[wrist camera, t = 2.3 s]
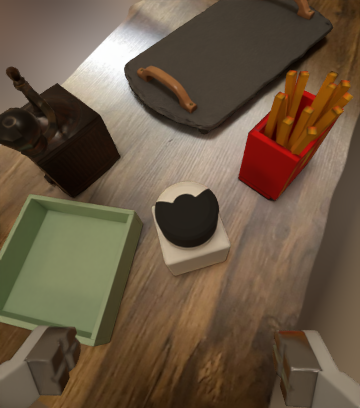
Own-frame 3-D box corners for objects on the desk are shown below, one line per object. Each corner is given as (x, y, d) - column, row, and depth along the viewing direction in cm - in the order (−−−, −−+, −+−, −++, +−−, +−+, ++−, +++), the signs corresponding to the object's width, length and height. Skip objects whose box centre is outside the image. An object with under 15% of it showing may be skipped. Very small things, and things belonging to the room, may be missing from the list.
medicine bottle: (226, 260, 32) (237, 230, 21) (173, 276, 32) (156, 254, 21) (209, 212, 35) (210, 163, 24) (160, 226, 35) (140, 184, 24)
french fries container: (313, 163, 37) (369, 81, 24) (276, 206, 34) (318, 140, 22) (272, 139, 39) (304, 54, 27) (236, 177, 37) (252, 104, 24)
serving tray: (246, -5, 57) (250, -40, 51) (339, 33, 48) (357, -4, 43) (113, 87, 48) (101, 56, 42) (198, 154, 39) (197, 126, 34)
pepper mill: (33, 166, 41) (-77, 68, 25) (84, 126, 44) (14, 13, 28) (90, 223, 36) (-5, 144, 20) (144, 173, 39) (99, 67, 23)
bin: (109, 342, 29) (93, 346, 25) (-1, 314, 32) (-32, 313, 28) (143, 223, 35) (134, 210, 31) (48, 207, 38) (29, 193, 34)
